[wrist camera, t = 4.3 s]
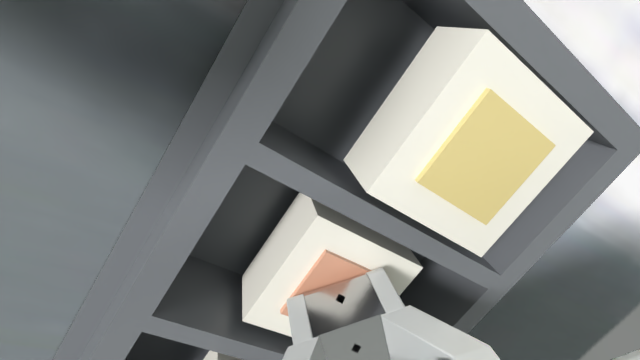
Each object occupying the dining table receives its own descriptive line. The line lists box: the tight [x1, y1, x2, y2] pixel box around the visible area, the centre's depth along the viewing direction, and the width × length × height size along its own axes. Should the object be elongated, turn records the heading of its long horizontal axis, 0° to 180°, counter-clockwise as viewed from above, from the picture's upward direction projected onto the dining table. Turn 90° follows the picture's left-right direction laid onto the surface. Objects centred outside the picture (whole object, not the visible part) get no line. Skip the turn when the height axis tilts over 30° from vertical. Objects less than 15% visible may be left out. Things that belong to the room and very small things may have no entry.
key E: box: [344, 26, 594, 257], centre depth 9 cm, size 4×4×2 cm
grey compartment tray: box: [52, 0, 640, 360], centre depth 13 cm, size 23×12×5 cm, turn 146°
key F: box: [242, 192, 423, 337], centre depth 11 cm, size 4×4×2 cm
